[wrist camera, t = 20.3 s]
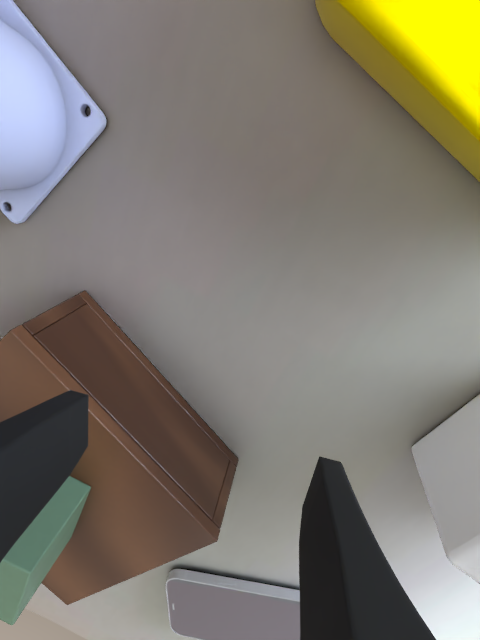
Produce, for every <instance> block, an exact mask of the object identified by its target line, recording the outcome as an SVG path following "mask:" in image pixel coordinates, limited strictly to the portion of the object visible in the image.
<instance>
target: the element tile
mask: <svg viewBox="0 0 480 640" xmlns="http://www.w3.org/2000/svg"><path fill="white" fill-rule="evenodd" d="M315 5H316V8H317V11H318V13H319V16H320V18H321V21H322V24H323V26H324V27H325V29H326V30H327V32H328V33H329V34H330V36H331V37H332V39H333V40H334V41H335V42H336V43H337V44H338V45H340V46H341V47H342V48H343V49H344V50H345V51H346V52H347V53H348V54H349V55H350V56H351V57H352V58H353V59H354V60H355V61H356V62H357V63H358V64H359V65H360V66H361V67H362V68H363V69H364V70H365V71H366V72H367V73H368V74H369V75H370V76H371V77H372V78H373V79H374V80H375V81H376V82H377V83H379V84H380V85H381V86H382V87H383V88H384V89H385V90H386V91H387V92H388V93H389V94H390V95H391V96H392V97H393V98H394V99H395V100H396V101H397V102H398V103H399V104H400V105H401V106H402V107H403V108H404V109H405V110H406V111H407V112H408V113H409V114H410V115H411V116H412V117H413V118H414V119H415V120H416V121H418V122H419V123H420V124H421V125H422V126H423V127H424V128H425V129H426V130H427V131H428V132H429V133H430V134H431V135H432V136H433V137H434V138H435V139H436V140H437V141H438V142H439V143H440V144H441V145H442V146H443V147H444V148H445V149H446V150H447V151H448V152H449V153H450V154H451V155H452V156H453V157H454V158H455V159H457V160H458V161H459V162H460V163H461V164H462V165H463V166H464V167H465V168H466V169H467V170H468V171H469V172H470V173H471V174H472V175H473V176H474V177H475V178H476V179H477V180H478V181H479V182H480V0H315Z"/></svg>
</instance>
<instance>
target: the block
mask: <svg viewBox="0 0 480 640" xmlns="http://www.w3.org/2000/svg"><path fill="white" fill-rule="evenodd" d="M90 489H91V487H90V486H89V485H87V484H85V483H83V482H81V481H79V480H77V479H75V478H73V477H71V476H69V477H68V478H67V479H66V481H65V482H64V483H63V484H62V486H61V487H60V488H59V489H58V491H57V492H56V493H55V494H54V496H53V497H52V498H51V499H50V501H49V502H48V503H47V504H46V506H45V507H44V508H43V509H42V510H41V512H40V513H39V514H38V515H37V517H36V518H35V519H34V520H33V521H32V523H31V524H30V525H29V526H28V528H27V529H26V530H25V531H24V533H23V534H22V535H21V536H20V537H19V539H18V540H17V541H16V542H15V544H14V545H13V546H12V548H11V549H10V550H9V552H8V553H7V554H6V556H5V557H4V558H3V560H2V561H1V563H0V620H2V621H4V622H6V623H8V624H10V625H13V624H14V623H15V622H16V620H17V619H18V617H19V616H20V614H21V613H22V611H23V610H24V608H25V607H26V605H27V604H28V602H29V601H30V599H31V597H32V596H33V594H34V593H35V591H36V590H37V588H38V587H39V585H40V584H41V582H42V581H43V579H44V578H45V576H46V575H47V573H48V572H49V570H50V569H51V567H52V566H53V564H54V563H55V561H56V560H57V558H58V557H59V555H60V554H61V552H62V551H63V549H64V548H65V546H66V544H67V543H68V541H69V540H70V538H71V537H72V534H73V532H74V529H75V527H76V524H77V522H78V519H79V517H80V514H81V512H82V509H83V507H84V504H85V502H86V499H87V497H88V494H89V492H90Z"/></svg>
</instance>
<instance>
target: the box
mask: <svg viewBox="0 0 480 640" xmlns="http://www.w3.org/2000/svg"><path fill="white" fill-rule="evenodd" d="M22 326H23V327H24V328H25V329H26V330H27V331H28V332H29V333H30V334H31V335H32V336H33V337H34V338H35V339H36V340H37V341H38V343H39V344H40V345H41V346H42V347H43V348H44V349H45V350H46V351H47V352H48V353H49V354H50V355H51V356H52V357H53V358H54V359H55V360H56V361H57V362H58V363H59V364H60V365H61V366H62V367H63V368H64V369H65V370H66V371H67V372H68V373H69V374H70V376H71V377H72V378H73V379H74V380H75V381H76V382H77V383H78V384H79V385H80V386H81V387H82V388H83V389H84V390H85V391H86V392H87V393H88V394H89V395H90V396H91V397H92V398H93V399H94V400H95V401H96V402H97V403H98V404H99V405H100V406H101V407H102V409H103V410H104V411H105V412H106V413H107V414H108V415H109V416H110V417H111V418H112V419H113V420H114V421H115V422H116V423H117V424H118V425H119V426H120V427H121V428H122V429H123V430H124V431H125V432H126V433H127V434H128V435H129V436H130V437H131V438H132V439H133V440H134V442H135V443H136V444H137V445H138V446H139V447H140V448H141V449H142V450H143V451H144V452H145V453H146V454H147V455H148V456H149V457H150V458H151V459H152V460H153V461H154V462H155V463H156V464H157V465H158V466H159V467H160V468H161V469H162V470H163V471H164V472H165V473H166V475H167V476H168V477H169V478H170V479H171V480H172V481H173V482H174V483H175V484H176V485H177V486H178V487H179V488H180V489H181V490H182V491H183V492H184V493H185V494H186V495H187V496H188V497H189V498H190V499H191V500H192V501H193V502H194V503H195V504H196V505H197V506H198V508H199V509H200V510H201V511H202V512H203V513H204V514H205V515H206V516H207V517H208V518H209V519H210V520H211V521H212V522H213V523H214V524H215V525H216V526H217V527H218V528H219V529H220V528H221V524H222V520H223V517H224V513H225V509H226V505H227V501H228V498H229V494H230V490H231V486H232V482H233V479H234V475H235V471H236V467H237V464H238V458H237V457H236V456H235V455H234V454H233V453H232V452H231V451H230V449H229V448H228V447H227V446H226V445H225V444H224V443H223V442H222V441H221V440H220V438H219V437H218V436H217V435H216V434H215V433H214V432H213V431H212V430H211V429H210V427H209V426H208V425H207V424H206V423H205V422H204V421H203V420H202V419H201V418H200V416H199V415H198V414H197V413H196V412H195V411H194V410H193V409H192V408H191V407H190V405H189V404H188V403H187V402H186V401H185V400H184V399H183V398H182V397H181V395H180V394H179V393H178V392H177V391H176V390H175V389H174V388H173V387H172V386H171V384H170V383H169V382H168V381H167V380H166V379H165V378H164V377H163V376H162V375H161V373H160V372H159V371H158V370H157V369H156V368H155V367H154V366H153V365H152V364H151V362H150V361H149V360H148V359H147V358H146V357H145V356H144V355H143V354H142V353H141V351H140V350H139V349H138V348H137V347H136V346H135V345H134V344H133V343H132V342H131V340H130V339H129V338H128V337H127V336H126V335H125V334H124V333H123V332H122V331H121V329H120V328H119V327H118V326H117V325H116V324H115V323H114V322H113V321H112V320H111V318H110V317H109V316H108V315H107V314H106V313H105V312H104V311H103V310H102V308H101V307H100V306H99V305H98V304H97V303H96V302H95V301H94V300H93V299H92V297H91V296H90V295H89V294H88V293H87V292H86V291H83V292H81V293H79V294H78V295H75V296H74V297H72V298H70V299H68V300H66V301H64V302H62V303H61V304H59V305H57V306H55V307H53V308H51V309H49V310H48V311H46V312H44V313H42V314H40V315H38V316H36V317H35V318H33V319H31V320H29V321H27V322H25V323H23V324H22Z"/></svg>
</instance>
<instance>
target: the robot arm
mask: <svg viewBox="0 0 480 640" xmlns="http://www.w3.org/2000/svg"><path fill="white" fill-rule="evenodd" d="M87 106H89V107H90V109H91V114H90V116H88V117H87V115H86V114H85V109H86V107H87ZM106 122H107V121H106V117H105V115H104V113H103V112H102V111H101V109H100V108H99V107H98V106H97V104H96V103H95V102H94V101H93V100H92V98H91V97H90V96H89V95H88V93H87V92H86V91H85V90H84V88H83V87H82V86H81V85H80V83H79V82H78V81H77V80H76V78H75V77H74V76H73V75H72V73H71V72H70V71H69V70H68V68H67V67H66V66H65V65H64V64H63V62H62V61H61V60H60V59H59V57H58V56H57V55H56V54H55V52H54V51H53V50H52V49H51V47H50V46H49V45H48V44H47V42H46V41H45V40H44V39H43V37H42V36H41V35H40V34H39V32H38V31H37V30H36V29H35V28H34V26H33V25H32V24H31V23H30V21H29V20H28V19H27V18H26V16H25V15H24V14H23V13H22V11H21V10H20V9H19V8H18V6H17V5H16V4H15V3H14V1H13V0H0V210H1V211H2V212H3V213H4V215H5V216H6V217H7V218H8V219H9V220H10V221H11V222H12V223H15V224H19V223H23V222H25V221H26V220H27V218H28V217H29V216H30V215H31V214H32V213H33V211H34V210H35V209H36V208H37V207H38V206H39V205H40V203H41V202H42V201H43V200H44V199H45V198H46V196H47V195H48V194H49V193H50V192H51V191H52V189H53V188H54V187H55V186H56V185H57V184H58V182H59V181H60V180H61V179H62V178H63V177H64V175H65V174H66V173H67V172H68V171H69V170H70V169H71V167H72V166H73V165H74V164H75V163H76V162H77V160H78V159H79V158H80V157H81V156H82V155H83V153H84V152H85V151H86V150H87V149H88V148H89V146H90V145H91V144H92V143H93V142H94V141H95V139H96V138H97V137H98V136H99V135H100V134H101V133H102V131H103V130H104V129H105V127H106ZM8 203H9V204H10V205H11V208H12V209H11V210H10V209H9V207H8ZM88 402H89V395H87V394H84V393H80V392H76V391H72V390H69V391H67V392H64V393H62V394H60V395H58V396H56V397H53V398H51V399H49V400H47V401H45V402H43V403H41V404H39V405H36V406H34V407H32V408H30V409H28V410H26V411H24V412H22V413H19V414H17V415H15V416H13V417H11V418H9V419H6V420H4V421H2V422H0V563H1V561H2V560H3V558H4V557H5V556H6V554H7V553H8V552H9V550H10V549H11V548H12V546H13V545H14V544H15V542H16V541H17V540H18V539H19V537H20V536H21V535H22V534H23V533H24V531H25V530H26V529H27V528H28V526H29V525H30V524H31V523H32V521H33V520H34V519H35V518H36V517H37V515H38V514H39V513H40V512H41V510H42V509H43V508H44V507H45V506H46V504H47V503H48V502H49V501H50V499H51V498H52V497H53V496H54V494H55V493H56V492H57V491H58V489H59V488H60V487H61V486H62V484H63V483H64V482H65V481H66V479H67V478H68V477H69V476H70V474H71V472H72V471H73V469H74V468H75V466H76V465H77V463H78V462H79V460H80V458H81V457H82V455H83V453H84V452H85V450H86V448H87V447H88ZM299 576H300V640H436V639H435V637H434V636H433V634H432V633H431V631H430V630H429V628H428V627H427V625H426V624H425V622H424V621H423V619H422V618H421V616H420V615H419V613H418V612H417V610H416V609H415V607H414V605H413V604H412V602H411V601H410V599H409V597H408V596H407V594H406V593H405V591H404V589H403V588H402V586H401V584H400V583H399V581H398V579H397V577H396V576H395V574H394V572H393V570H392V569H391V567H390V565H389V563H388V561H387V560H386V558H385V556H384V554H383V552H382V550H381V548H380V547H379V545H378V543H377V541H376V539H375V537H374V535H373V533H372V531H371V529H370V527H369V525H368V523H367V520H366V518H365V516H364V514H363V512H362V510H361V508H360V506H359V503H358V501H357V499H356V497H355V494H354V492H353V490H352V487H351V485H350V482H349V480H348V478H347V475H346V473H345V470H344V467H343V465H342V464H341V462H338V461H334V460H330V459H327V458H323V457H319V459H318V462H317V465H316V468H315V471H314V474H313V477H312V480H311V483H310V486H309V489H308V492H307V495H306V498H305V501H304V504H303V508H302V518H301V528H300V539H299Z"/></svg>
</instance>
